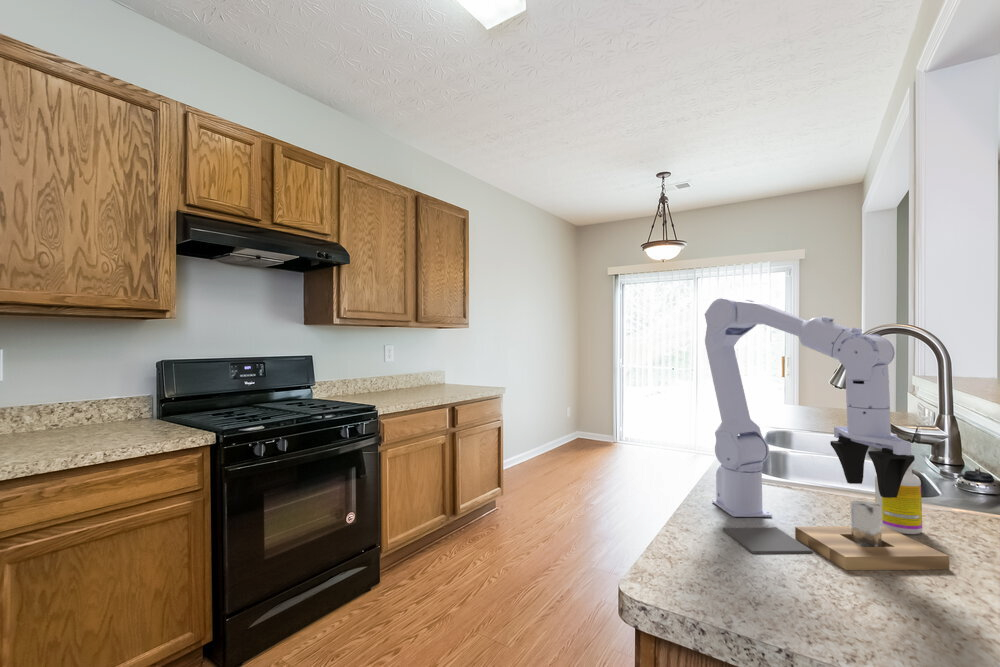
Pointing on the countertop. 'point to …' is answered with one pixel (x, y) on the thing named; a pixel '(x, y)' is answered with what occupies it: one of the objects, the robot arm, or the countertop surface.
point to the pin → (866, 523)
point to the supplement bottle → (902, 506)
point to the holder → (871, 550)
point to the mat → (766, 540)
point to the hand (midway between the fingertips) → (870, 489)
